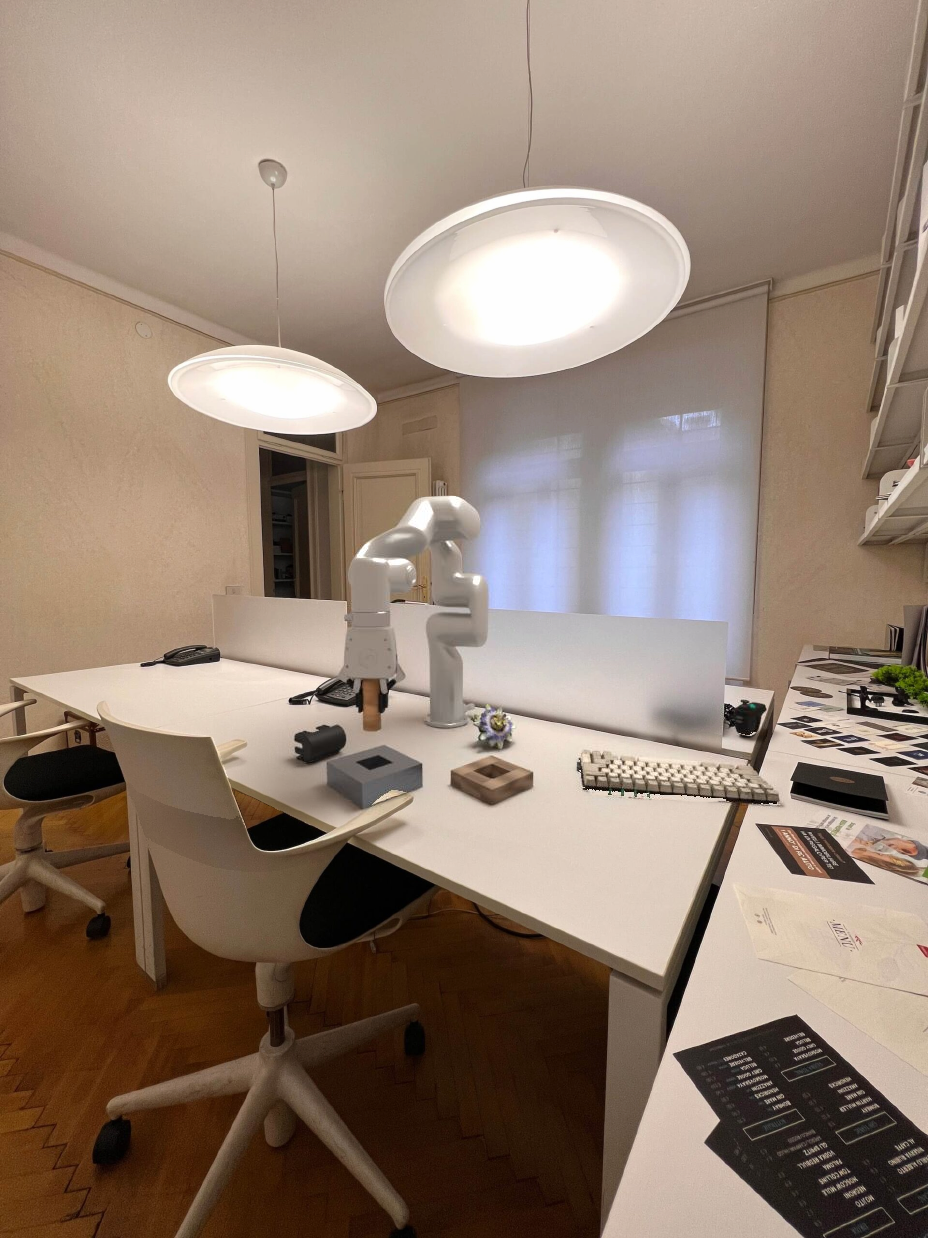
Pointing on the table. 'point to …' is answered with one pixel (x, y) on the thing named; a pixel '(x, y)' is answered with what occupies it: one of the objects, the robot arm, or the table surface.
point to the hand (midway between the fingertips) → (372, 710)
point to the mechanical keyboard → (673, 778)
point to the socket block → (373, 774)
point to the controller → (748, 717)
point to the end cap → (319, 742)
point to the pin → (371, 705)
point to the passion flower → (494, 726)
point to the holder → (489, 790)
